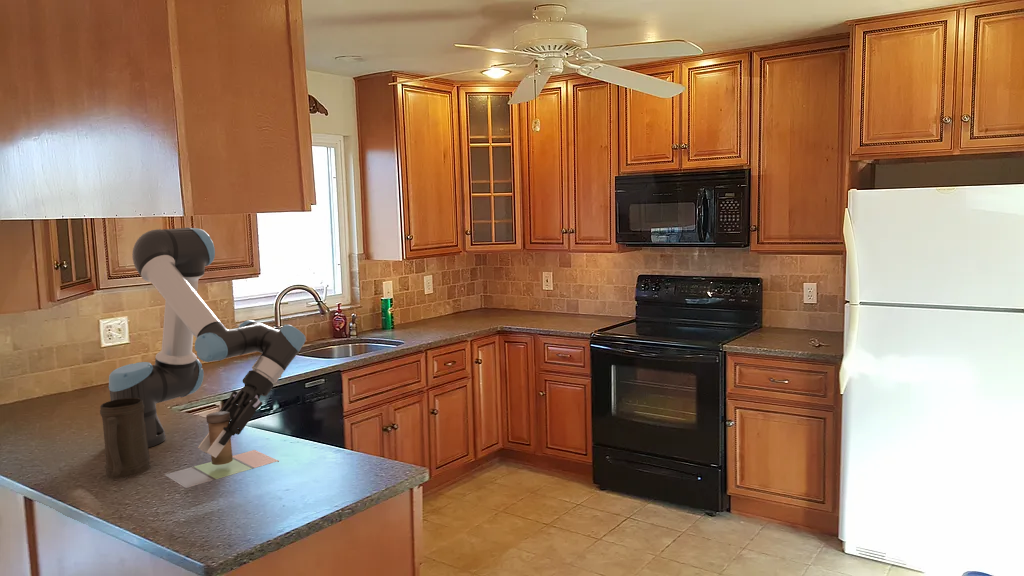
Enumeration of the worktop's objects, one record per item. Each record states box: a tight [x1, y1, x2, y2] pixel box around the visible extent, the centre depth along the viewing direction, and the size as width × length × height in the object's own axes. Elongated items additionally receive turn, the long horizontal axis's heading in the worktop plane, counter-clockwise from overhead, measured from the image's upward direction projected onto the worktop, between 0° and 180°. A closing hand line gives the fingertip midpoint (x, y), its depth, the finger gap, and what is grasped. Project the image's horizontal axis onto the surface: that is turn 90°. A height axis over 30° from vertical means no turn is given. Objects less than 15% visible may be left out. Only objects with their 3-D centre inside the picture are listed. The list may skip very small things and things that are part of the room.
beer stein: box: [99, 398, 151, 479], centre depth 184 cm, size 15×11×20 cm
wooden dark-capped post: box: [205, 411, 233, 465], centre depth 185 cm, size 6×6×12 cm
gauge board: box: [164, 449, 280, 489], centre depth 186 cm, size 14×24×1 cm, turn 135°
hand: (206, 452), depth 183 cm, fingers closed on wooden dark-capped post, 5 cm apart
